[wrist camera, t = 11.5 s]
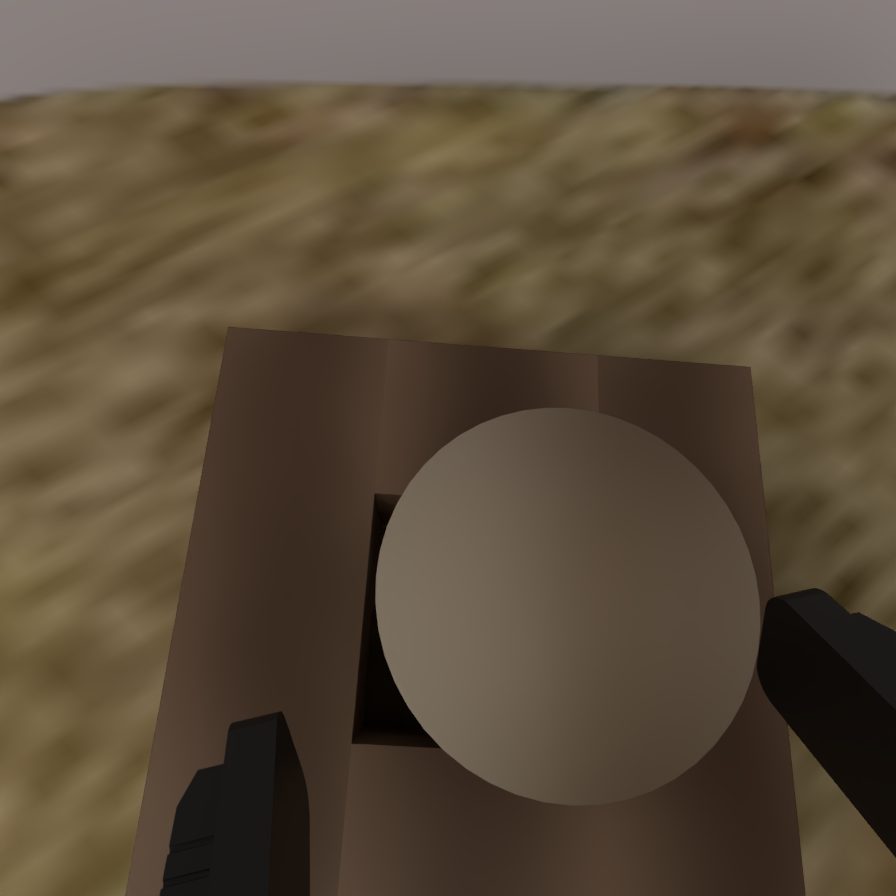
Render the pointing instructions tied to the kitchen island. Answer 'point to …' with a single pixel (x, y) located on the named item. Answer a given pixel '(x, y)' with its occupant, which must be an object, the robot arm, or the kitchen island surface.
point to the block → (351, 612)
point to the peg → (567, 606)
